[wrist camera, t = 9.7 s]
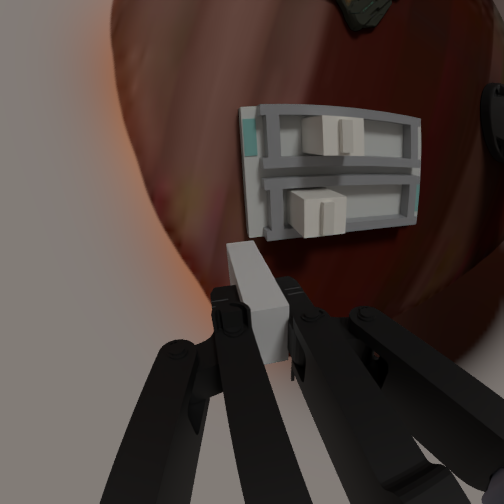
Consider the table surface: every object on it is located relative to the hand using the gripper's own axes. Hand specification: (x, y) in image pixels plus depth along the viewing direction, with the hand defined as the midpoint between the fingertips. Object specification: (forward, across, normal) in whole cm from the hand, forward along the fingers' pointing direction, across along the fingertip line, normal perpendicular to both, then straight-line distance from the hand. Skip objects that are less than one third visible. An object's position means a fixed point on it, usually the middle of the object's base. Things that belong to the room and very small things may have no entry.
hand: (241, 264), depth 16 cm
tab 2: (+12, -8, 0) cm, 15 cm away
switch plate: (+13, -13, -4) cm, 19 cm away
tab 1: (+12, -10, -7) cm, 17 cm away
